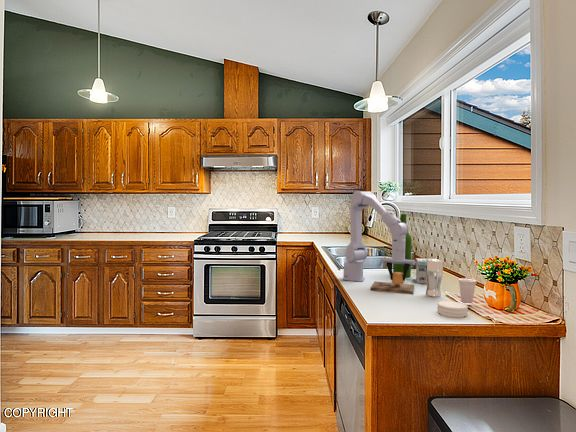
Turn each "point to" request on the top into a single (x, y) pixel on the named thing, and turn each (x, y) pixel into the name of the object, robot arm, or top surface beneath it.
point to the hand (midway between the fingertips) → (397, 279)
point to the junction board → (392, 287)
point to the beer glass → (433, 276)
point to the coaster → (452, 309)
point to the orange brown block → (397, 278)
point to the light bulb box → (420, 270)
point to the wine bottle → (407, 252)
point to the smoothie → (467, 289)
